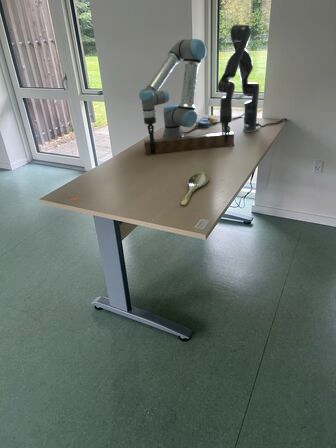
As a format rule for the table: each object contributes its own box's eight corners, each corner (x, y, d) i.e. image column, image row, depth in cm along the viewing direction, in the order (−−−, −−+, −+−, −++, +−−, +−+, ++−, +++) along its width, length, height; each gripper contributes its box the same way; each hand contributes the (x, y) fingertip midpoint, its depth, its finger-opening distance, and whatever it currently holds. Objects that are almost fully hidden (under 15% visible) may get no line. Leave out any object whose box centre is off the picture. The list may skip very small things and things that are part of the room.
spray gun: (219, 120, 278) (203, 120, 284) (219, 115, 276) (202, 115, 282) (211, 128, 263) (193, 127, 269) (211, 122, 261) (193, 122, 267)
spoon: (193, 209, 156) (193, 205, 155) (172, 207, 159) (171, 203, 158) (212, 175, 182) (212, 172, 181) (193, 174, 186) (193, 170, 184)
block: (145, 154, 222) (144, 142, 217) (145, 152, 226) (144, 140, 222) (233, 145, 223) (234, 133, 219) (232, 143, 228) (232, 131, 223)
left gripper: (156, 119, 204) (159, 156, 216) (154, 112, 219) (158, 147, 231) (143, 121, 204) (148, 157, 216) (143, 114, 219) (147, 148, 231)
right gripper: (234, 116, 209) (233, 142, 218) (228, 111, 221) (228, 136, 230) (222, 117, 208) (222, 144, 217) (217, 112, 221) (217, 137, 230)
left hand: (153, 152), depth 224 cm, fingers closed on block, 5 cm apart
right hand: (225, 140), depth 223 cm, fingers closed on block, 5 cm apart
